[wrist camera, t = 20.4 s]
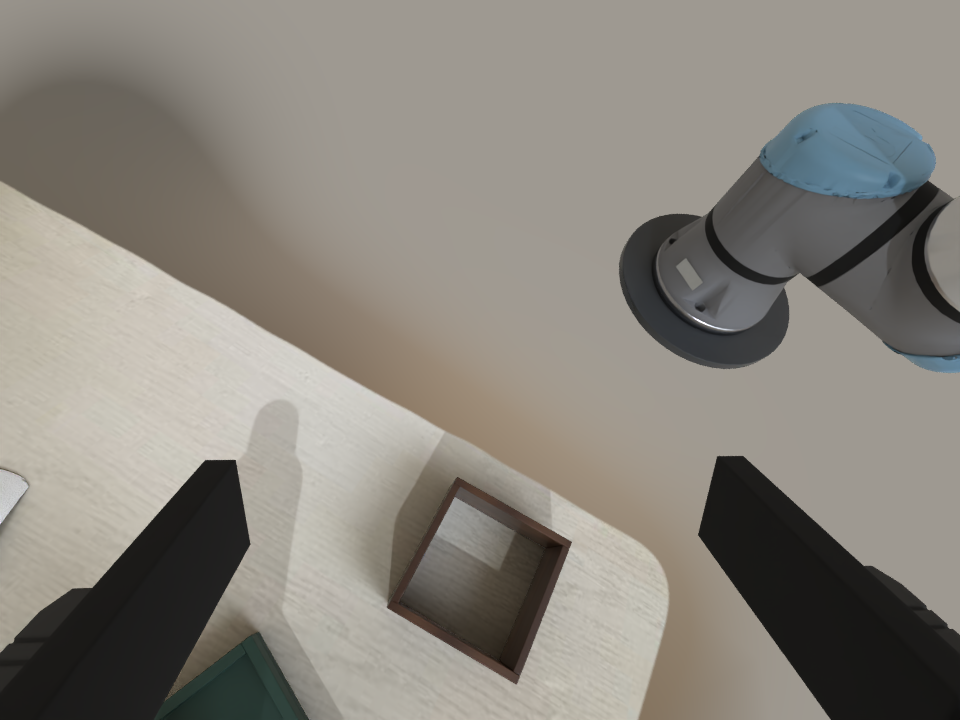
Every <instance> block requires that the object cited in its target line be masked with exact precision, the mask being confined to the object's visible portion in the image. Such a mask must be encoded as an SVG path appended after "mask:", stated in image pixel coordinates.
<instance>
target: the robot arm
mask: <svg viewBox="0 0 960 720" xmlns="http://www.w3.org/2000/svg"><path fill="white" fill-rule="evenodd" d="M921 140H922V136H921V135H920V134H919V133H918V132H916V131H915V130H914V129H913V128H911V127H910V126H908V125H907V124H905V123H904V122H902V121H900V120H899V119H896V118H894V117H893V116H890V115H888V114H886V113H884V112H881V111H878V110H876V109H872V108H869V107H865V106H861V105H855V104H843V103H828V104H822V105H818V106H814V107H812V108H809V109H807V110H805V111H803V112H802V113H800V114H798V115H797V116H796V117H795V118H794V119H792V120H791V121H790V123H789V124H788V125H787V126H786V127H785V128H784V129H783V130H782V131H781V132H780V133H779V134H778V135H777V136H776V137H775V138H774V139H773V140H770V141H769V142H768V143H767V144H766V145H765V146H764V147H763V149H762V150H761V153H760V156H759V157H758V158H757V159H756V160H755V161H754V162H753V164H752V165H751V166H750V167H749V168H748V169H747V170H746V171H745V173H744V174H743V175H742V176H741V177H740V178H739V179H738V180H737V182H736V183H735V184H734V185H733V186H732V187H731V188H730V189H729V190H728V192H727V193H726V194H725V195H724V196H723V197H722V198H721V199H720V201H719V202H718V203H717V204H716V205H715V206H714V208H713V209H712V210H711V211H710V212H709V213H708V214H706V215H705V216H703V217H701V218H699V219H698V220H696V221H694V222H692V223H691V224H689V225H687V226H685V227H683V228H682V229H680V230H678V231H677V232H675V233H674V234H672V235H671V236H670V237H668V238H667V239H666V240H665V242H664V243H663V244H662V245H661V246H660V248H659V249H658V250H657V252H656V254H655V256H654V258H653V262H652V277H653V281H654V285H655V287H656V290H657V292H658V294H659V296H660V297H661V299H662V301H663V302H664V303H665V305H666V306H667V307H668V308H669V309H670V310H671V311H672V312H673V313H674V314H675V315H676V316H677V317H678V318H679V319H681V320H682V321H683V322H685V323H686V324H688V325H690V326H691V327H693V328H695V329H698V330H700V331H702V332H705V333H709V334H713V335H719V336H731V335H736V334H740V333H743V332H745V331H747V330H748V329H750V328H751V327H753V326H754V325H755V324H757V323H758V322H760V321H761V320H762V319H763V317H764V316H765V315H766V314H767V313H768V311H769V309H770V307H771V306H772V304H773V303H774V301H775V300H776V298H777V297H778V296H779V294H780V293H781V291H782V290H783V288H784V286H785V285H786V283H787V282H788V281H789V280H790V279H792V278H793V277H795V276H796V275H797V274H799V273H801V274H802V275H803V276H804V277H806V278H807V279H808V280H810V281H811V282H812V283H813V284H815V285H816V286H817V287H818V288H819V289H821V290H822V291H823V292H825V293H826V294H827V295H828V296H829V297H830V298H832V299H833V300H834V301H835V302H837V303H838V304H839V305H840V306H842V307H843V308H844V309H845V310H847V311H848V312H849V313H850V314H851V315H853V316H854V317H855V318H856V319H857V320H858V321H860V322H861V323H862V324H863V325H864V326H866V327H867V328H868V329H869V330H870V331H872V332H873V333H874V334H875V335H876V336H878V337H879V338H880V339H881V340H882V341H883V343H884V344H885V345H886V346H887V347H888V348H890V349H891V350H892V351H894V352H896V353H898V354H901V355H903V356H904V357H906V358H907V359H908V360H910V361H911V362H912V363H914V364H915V365H917V366H919V367H922V368H924V369H927V370H931V371H935V372H943V373H956V372H960V196H959V197H957V198H955V199H953V198H952V197H950V196H949V195H948V194H946V193H945V192H943V191H942V190H941V189H939V188H937V187H936V186H935V185H933V184H932V183H931V182H929V181H928V179H929V178H930V176H931V173H932V172H933V170H934V168H935V164H936V158H935V155H934V152H933V150H932V148H931V146H930V145H929V144H927V143H925V142H922V141H921ZM698 536H699V537H700V538H701V540H702V541H703V542H704V544H705V545H706V547H707V548H708V550H709V551H710V552H711V554H712V555H713V556H714V558H715V559H716V561H717V562H718V563H719V565H720V566H721V568H722V569H723V570H724V572H725V573H726V575H727V576H728V577H729V579H730V580H731V581H732V583H733V584H734V586H735V587H736V588H737V590H738V591H739V593H740V594H741V595H742V597H743V598H744V600H745V601H746V602H747V604H748V605H749V606H750V608H751V609H752V611H753V612H754V613H755V615H756V616H757V618H758V619H759V620H760V622H761V623H762V625H763V626H764V627H765V629H766V630H767V632H768V633H769V634H770V636H771V637H772V638H773V640H774V641H775V643H776V644H777V645H778V647H779V648H780V650H781V651H782V652H783V654H784V655H785V656H786V658H787V659H788V661H789V662H790V663H791V665H792V666H793V668H794V669H795V670H796V672H797V673H798V675H799V676H800V677H801V679H802V680H803V682H804V683H805V684H806V686H807V687H808V688H809V690H810V691H811V693H812V694H813V695H814V697H815V698H816V700H817V701H818V702H819V704H820V705H821V707H822V708H823V709H824V711H825V712H826V714H827V715H828V716H829V718H830V719H831V720H960V635H959V634H958V633H957V632H956V631H955V630H953V629H949V628H948V627H947V623H945V622H944V621H943V620H942V619H941V618H940V617H939V616H937V615H936V614H935V613H934V612H933V611H932V610H928V609H927V608H926V605H925V604H924V603H923V602H921V601H920V600H919V599H918V598H917V597H916V596H914V595H913V594H912V593H911V592H910V591H909V590H908V589H907V588H905V587H904V586H903V585H902V584H900V583H899V582H897V581H896V580H894V579H892V578H891V577H889V576H887V575H886V574H884V573H883V572H881V571H879V570H878V569H876V568H874V567H873V566H863V565H862V564H861V563H860V562H859V561H857V559H855V558H854V557H853V556H852V555H851V554H850V553H849V552H848V551H846V549H844V548H843V547H842V546H841V545H840V544H839V543H838V542H837V541H836V540H835V539H833V538H832V537H831V536H830V535H829V534H828V533H827V532H826V531H825V530H824V529H823V528H821V527H820V526H819V525H818V524H817V523H816V522H815V521H814V520H813V519H812V518H810V517H809V516H808V515H807V514H806V513H805V512H804V511H803V510H802V509H801V508H799V507H798V506H797V505H796V504H795V503H794V502H793V501H792V500H791V499H790V498H789V497H787V496H786V495H785V494H784V493H783V492H782V491H781V490H780V489H779V488H778V487H776V486H775V485H774V484H773V483H772V482H771V481H770V480H769V479H768V478H767V477H765V476H764V475H763V474H762V473H761V472H760V471H759V470H758V469H757V468H756V467H754V466H753V465H752V464H751V463H750V462H749V461H748V460H747V459H746V458H745V457H744V456H718V457H717V459H716V464H715V468H714V472H713V476H712V480H711V484H710V488H709V492H708V496H707V501H706V505H705V509H704V513H703V517H702V521H701V525H700V530H699V533H698ZM249 546H250V540H249V534H248V528H247V522H246V517H245V511H244V505H243V499H242V494H241V488H240V482H239V476H238V471H237V465H236V460H205V461H204V462H203V463H202V464H201V466H200V467H199V468H198V469H197V470H196V471H195V472H194V474H193V475H192V476H191V477H190V478H189V479H188V480H187V481H186V483H185V484H184V485H183V486H182V487H181V488H180V489H179V491H178V492H177V493H176V494H175V495H174V496H173V497H172V498H171V500H170V501H169V502H168V503H167V504H166V505H165V506H164V507H163V509H162V510H161V511H160V512H159V513H158V514H157V515H156V517H155V518H154V519H153V520H152V521H151V522H150V523H149V524H148V526H147V527H146V528H145V529H144V530H143V531H142V532H141V534H140V535H139V536H138V537H137V538H136V539H135V540H134V541H133V543H132V544H131V545H130V546H129V547H128V548H127V549H126V551H125V552H124V553H123V554H122V555H121V556H120V557H119V558H118V560H117V561H116V562H115V563H114V564H113V565H112V566H111V568H110V569H109V570H108V571H107V572H106V573H105V574H104V575H103V577H102V578H101V579H100V580H99V581H98V582H97V583H96V585H95V586H94V587H93V588H77V589H72V590H70V591H69V592H67V593H66V594H64V595H63V596H61V597H60V598H59V599H57V600H56V601H54V602H53V603H51V604H50V605H49V606H47V607H46V608H44V609H43V610H41V611H40V612H39V613H38V614H37V615H36V616H35V617H34V618H33V619H32V620H31V621H30V622H29V624H28V625H27V626H26V627H25V628H24V629H23V630H22V631H21V632H20V633H19V634H18V635H17V636H16V637H15V638H14V639H15V640H14V642H13V643H12V644H8V645H7V647H6V648H5V649H4V650H3V651H2V652H1V653H0V720H154V719H155V717H156V715H157V713H158V711H159V709H160V708H161V706H162V704H163V702H164V700H165V699H166V697H167V695H168V693H169V691H170V689H171V688H172V686H173V684H174V682H175V680H176V679H177V677H178V675H179V673H180V671H181V669H182V668H183V666H184V664H185V662H186V660H187V659H188V657H189V655H190V653H191V651H192V649H193V648H194V646H195V644H196V642H197V640H198V639H199V637H200V635H201V633H202V631H203V629H204V628H205V626H206V624H207V622H208V620H209V619H210V617H211V615H212V613H213V611H214V609H215V608H216V606H217V604H218V602H219V600H220V598H221V597H222V595H223V593H224V591H225V589H226V588H227V586H228V584H229V582H230V580H231V578H232V577H233V575H234V573H235V571H236V569H237V568H238V566H239V564H240V562H241V560H242V558H243V557H244V555H245V553H246V551H247V549H248V548H249Z"/></svg>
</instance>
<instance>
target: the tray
mask: <svg viewBox="0 0 960 720" xmlns="http://www.w3.org/2000/svg"><path fill="white" fill-rule="evenodd" d="M154 720H309V719H308V718H307V716H306V714H305V712H304V710H303V709H302V707H301V705H300V703H299V702H298V700H297V698H296V696H295V695H294V693H293V691H292V689H291V688H290V686H289V684H288V682H287V680H286V679H285V677H284V675H283V673H282V672H281V670H280V668H279V666H278V665H277V663H276V661H275V659H274V657H273V656H272V654H271V652H270V650H269V649H268V647H267V645H266V643H265V642H264V640H263V638H262V636H261V635H260V633H259V632H258V633H255V634H253V635H251V636H249V637H248V638H247V639H245V640H244V641H243V642H242V643H240V644H239V645H238V646H236V647H235V648H234V649H232V650H231V651H230V652H228V653H227V654H226V655H224V656H223V657H222V658H221V659H219V660H218V661H217V662H215V663H214V664H213V665H211V666H210V667H209V668H208V669H206V670H205V671H204V672H202V673H201V674H200V675H198V676H197V677H196V678H195V679H193V680H192V681H191V682H189V683H188V684H187V685H185V686H184V687H183V688H182V689H180V690H179V691H178V692H176V693H175V694H174V695H172V696H171V697H170V698H168V699H167V700H166V701H165V702H163V704H162V706H161V708H160V709H159V711H158V713H157V715H156V717H155V719H154Z"/></svg>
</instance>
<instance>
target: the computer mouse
mask: <svg viewBox="0 0 960 720" xmlns="http://www.w3.org/2000/svg"><path fill="white" fill-rule="evenodd" d="M22 479H23V480H25V479H24V478H23V477H21V476H19V475H17V474H14V473H12V472H9V471H6V470H2V469H0V525H1V523H2V521H3V520H4V519H5V517H6V516H7V514H8V513H9V512H10V510H11V509H12V508H13V507H14V505H15V504H16V503H17V501H18V500H19V498H20V497H21V496H22V495H23V494H24V492H25V490H27V488H28V487H29V485H27V484H28V483H26V482H24V481H22Z"/></svg>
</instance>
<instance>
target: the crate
mask: <svg viewBox="0 0 960 720" xmlns="http://www.w3.org/2000/svg"><path fill="white" fill-rule="evenodd" d="M454 497H456V498H458V499H460V500H462V501H463V502H465V503H467V504H469V505H470V506H472V507H474V508H476V509H477V510H479V511H481V512H483V513H484V514H486V515H488V516H490V517H491V518H493V519H495V520H497V521H498V522H500V523H502V524H504V525H505V526H507V527H509V528H511V529H512V530H514V531H516V532H518V533H519V534H521V535H523V536H525V537H526V538H528V539H530V540H532V541H533V542H535V543H537V544H539V545H540V546H542V547H544V548H546V549H545V550H544V552H543V555H542V557H541V560H540V562H539V565H538V567H537V569H536V572H535V574H534V577H533V579H532V582H531V584H530V586H529V589H528V591H527V594H526V596H525V599H524V601H523V603H522V606H521V608H520V611H519V613H518V616H517V618H516V620H515V623H514V625H513V628H512V630H511V632H510V635H509V637H508V640H507V642H506V645H505V647H504V649H503V652H502V654H501V657H500V659H499V660H500V661H499V660H498V659H496V658H494V657H493V656H491V655H489V654H488V653H486V652H484V651H483V650H481V649H479V648H477V647H476V646H474V645H472V644H471V643H469V642H467V641H466V640H464V639H462V638H461V637H459V636H457V635H455V634H454V633H452V632H450V631H449V630H447V629H445V628H444V627H442V626H440V625H439V624H437V623H435V622H433V621H432V620H430V619H428V618H427V617H425V616H423V615H422V614H420V613H418V612H417V611H415V610H413V609H412V608H410V607H408V606H406V605H405V604H403V603H401V602H400V599H401V597H402V595H403V593H404V591H405V590H406V588H407V586H408V584H409V582H410V580H411V578H412V576H413V575H414V573H415V571H416V569H417V567H418V565H419V563H420V561H421V559H422V558H423V556H424V554H425V552H426V550H427V548H428V546H429V544H430V542H431V541H432V539H433V537H434V535H435V533H436V531H437V529H438V527H439V525H440V524H441V522H442V520H443V518H444V516H445V514H446V512H447V510H448V508H449V507H450V505H451V503H452V501H453V499H454ZM571 543H572V542H571V541H569V540H567V539H566V538H564V537H562V536H560V535H559V534H557V533H555V532H553V531H552V530H550V529H548V528H546V527H545V526H543V525H541V524H539V523H538V522H536V521H534V520H532V519H531V518H529V517H527V516H525V515H523V514H522V513H520V512H518V511H516V510H515V509H513V508H511V507H509V506H508V505H506V504H504V503H502V502H501V501H499V500H497V499H495V498H494V497H492V496H490V495H488V494H487V493H485V492H483V491H481V490H480V489H478V488H476V487H474V486H473V485H471V484H469V483H467V482H465V481H464V480H462V479H460V478H458V477H457V478H456V479H455V481H454V482H453V484H452V485H451V487H450V489H449V490H448V492H447V494H446V496H445V498H444V500H443V501H442V503H441V505H440V507H439V509H438V511H437V513H436V514H435V516H434V518H433V520H432V522H431V524H430V526H429V527H428V529H427V531H426V533H425V535H424V537H423V539H422V540H421V542H420V544H419V546H418V548H417V550H416V551H415V553H414V555H413V557H412V559H411V561H410V563H409V564H408V566H407V568H406V570H405V572H404V574H403V576H402V577H401V579H400V581H399V583H398V585H397V587H396V589H395V590H394V592H393V594H392V596H391V598H390V600H389V601H388V604H387V608H388V609H390V610H392V611H393V612H395V613H397V614H398V615H400V616H402V617H403V618H405V619H407V620H408V621H410V622H412V623H413V624H415V625H417V626H419V627H420V628H422V629H424V630H425V631H427V632H429V633H430V634H432V635H434V636H435V637H437V638H439V639H440V640H442V641H444V642H445V643H447V644H449V645H451V646H452V647H454V648H456V649H457V650H459V651H461V652H462V653H464V654H466V655H467V656H469V657H471V658H472V659H474V660H476V661H478V662H479V663H481V664H483V665H484V666H486V667H488V668H489V669H491V670H493V671H494V672H496V673H498V674H499V675H501V676H503V677H505V678H506V679H508V680H510V681H511V682H513V683H515V684H517V683H518V680H519V678H520V675H521V672H522V670H523V667H524V665H525V662H526V659H527V657H528V654H529V652H530V649H531V647H532V644H533V641H534V639H535V636H536V634H537V631H538V629H539V626H540V623H541V621H542V618H543V616H544V613H545V610H546V608H547V605H548V603H549V600H550V598H551V595H552V592H553V590H554V587H555V585H556V582H557V580H558V577H559V574H560V572H561V569H562V567H563V564H564V561H565V559H566V556H567V554H568V551H569V548H570V546H571Z"/></svg>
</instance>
